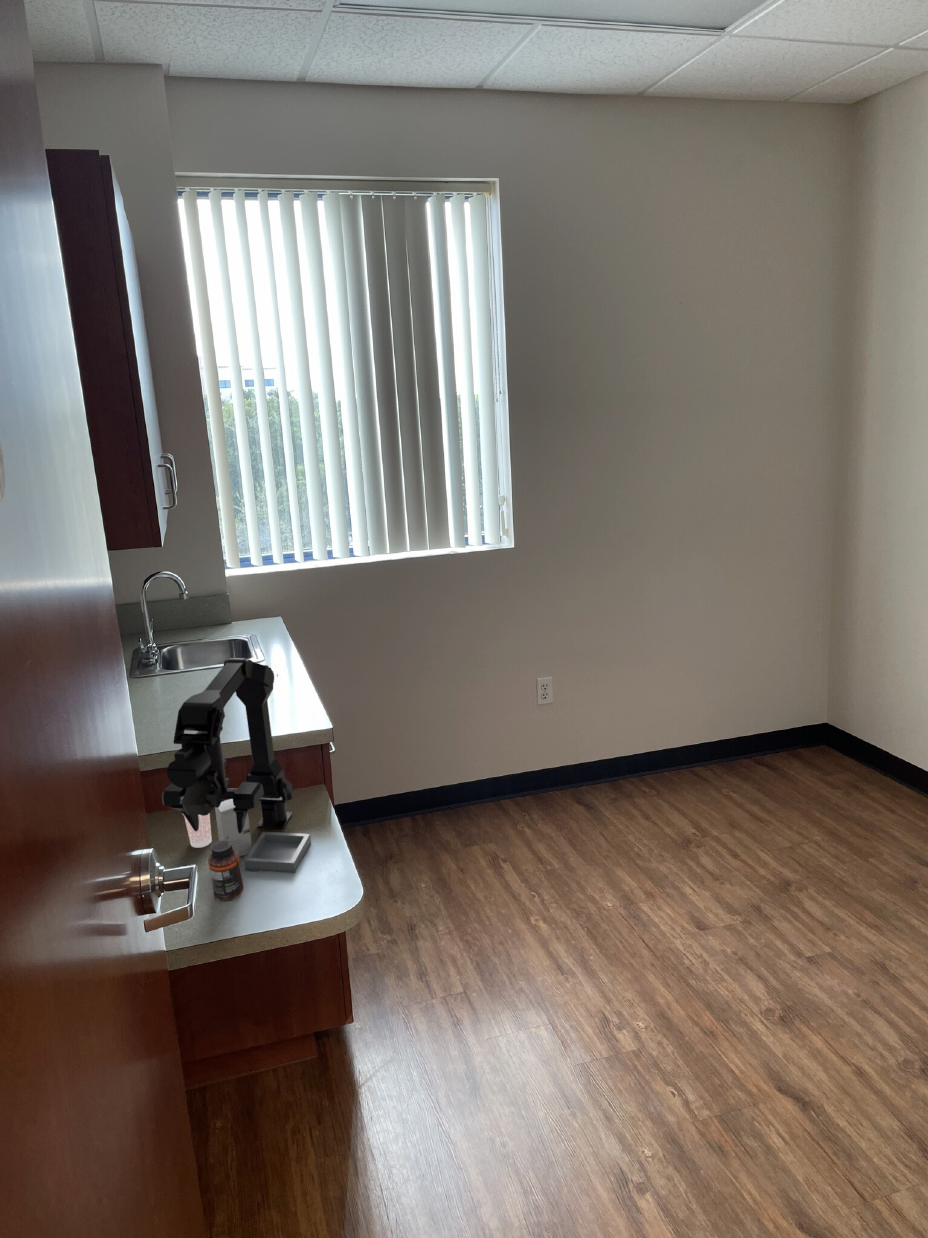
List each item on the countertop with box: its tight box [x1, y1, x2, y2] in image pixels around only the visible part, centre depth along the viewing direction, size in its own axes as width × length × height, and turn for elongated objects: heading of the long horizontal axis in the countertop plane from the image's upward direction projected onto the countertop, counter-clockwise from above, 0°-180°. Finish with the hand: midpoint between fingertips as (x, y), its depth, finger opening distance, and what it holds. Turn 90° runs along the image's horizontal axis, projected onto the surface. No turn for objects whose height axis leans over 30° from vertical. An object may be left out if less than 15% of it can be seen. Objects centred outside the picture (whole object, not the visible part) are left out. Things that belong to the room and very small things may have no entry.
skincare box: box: [214, 799, 253, 858], centre depth 185 cm, size 6×4×12 cm
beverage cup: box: [181, 812, 213, 849], centre depth 189 cm, size 6×6×14 cm
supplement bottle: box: [208, 840, 244, 902], centre depth 171 cm, size 6×6×11 cm
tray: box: [243, 831, 312, 874], centre depth 184 cm, size 11×11×2 cm
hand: (218, 831), depth 169 cm, fingers open, 9 cm apart
